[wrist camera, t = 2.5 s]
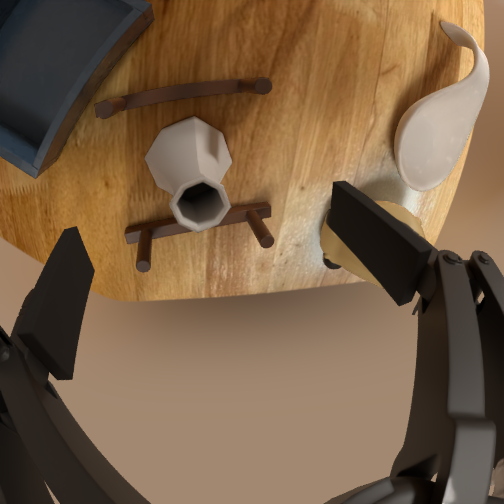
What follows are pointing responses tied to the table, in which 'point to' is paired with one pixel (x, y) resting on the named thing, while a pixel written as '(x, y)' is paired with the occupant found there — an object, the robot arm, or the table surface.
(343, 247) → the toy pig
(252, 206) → the drying rack
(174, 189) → the flask
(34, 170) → the basin
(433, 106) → the spoon rest
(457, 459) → the robot arm
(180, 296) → the table surface
